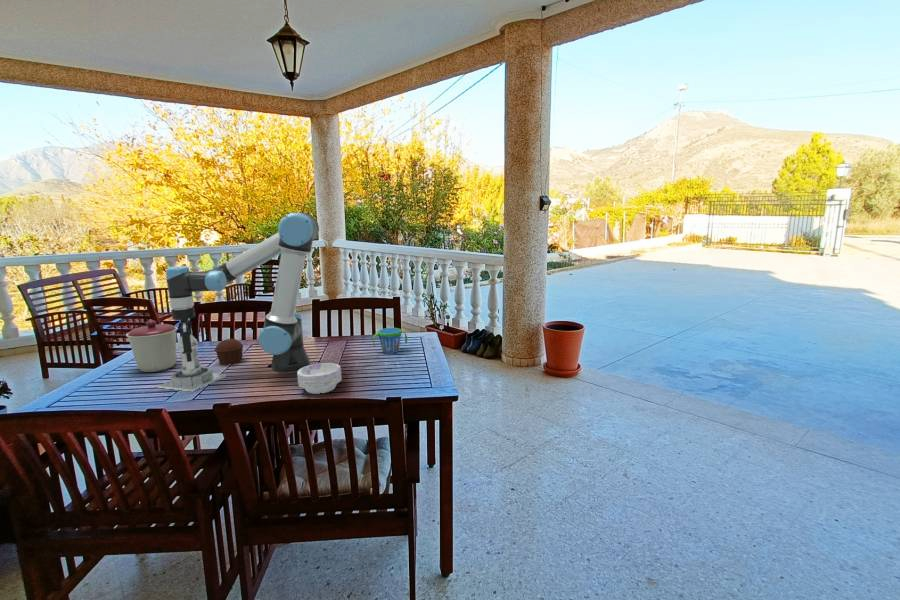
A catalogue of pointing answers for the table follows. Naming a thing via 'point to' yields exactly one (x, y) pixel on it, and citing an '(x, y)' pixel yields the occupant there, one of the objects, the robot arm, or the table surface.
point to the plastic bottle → (194, 346)
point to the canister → (154, 346)
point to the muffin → (229, 351)
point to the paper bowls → (319, 377)
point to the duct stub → (192, 380)
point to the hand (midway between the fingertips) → (190, 366)
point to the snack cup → (390, 339)
